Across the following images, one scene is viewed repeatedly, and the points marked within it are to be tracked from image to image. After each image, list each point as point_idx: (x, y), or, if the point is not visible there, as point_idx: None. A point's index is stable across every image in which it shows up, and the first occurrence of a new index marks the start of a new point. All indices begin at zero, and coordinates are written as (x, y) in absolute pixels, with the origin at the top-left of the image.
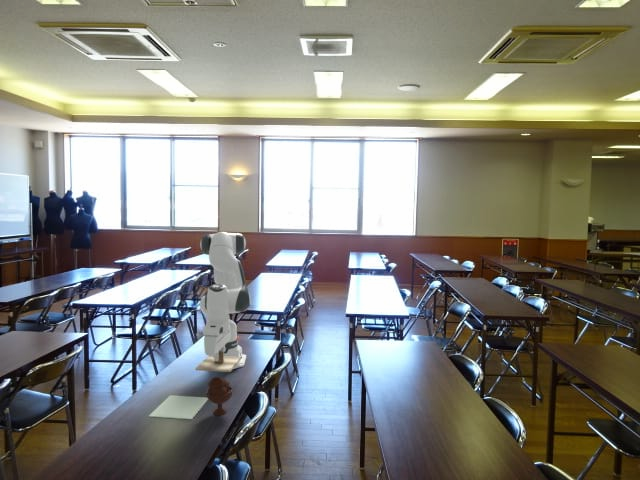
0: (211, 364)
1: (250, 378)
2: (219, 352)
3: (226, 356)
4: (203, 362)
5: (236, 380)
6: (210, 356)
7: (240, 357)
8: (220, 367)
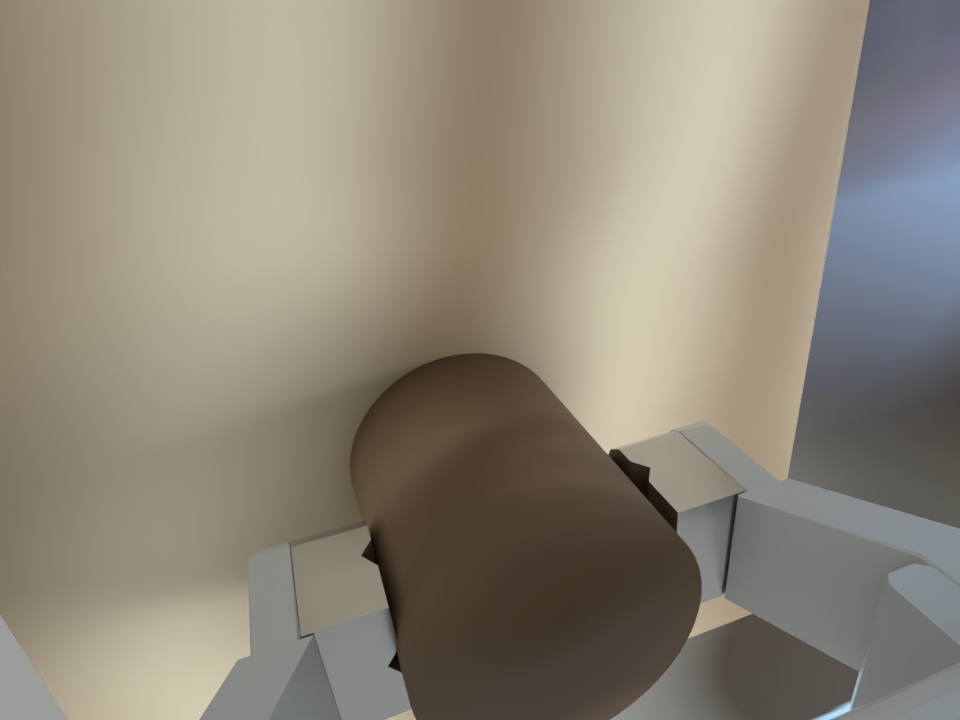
0: (268, 371)
1: (907, 145)
2: (594, 639)
3: (789, 393)
4: (329, 37)
5: (887, 36)
6: (807, 9)
7: (740, 617)
8: (177, 656)
